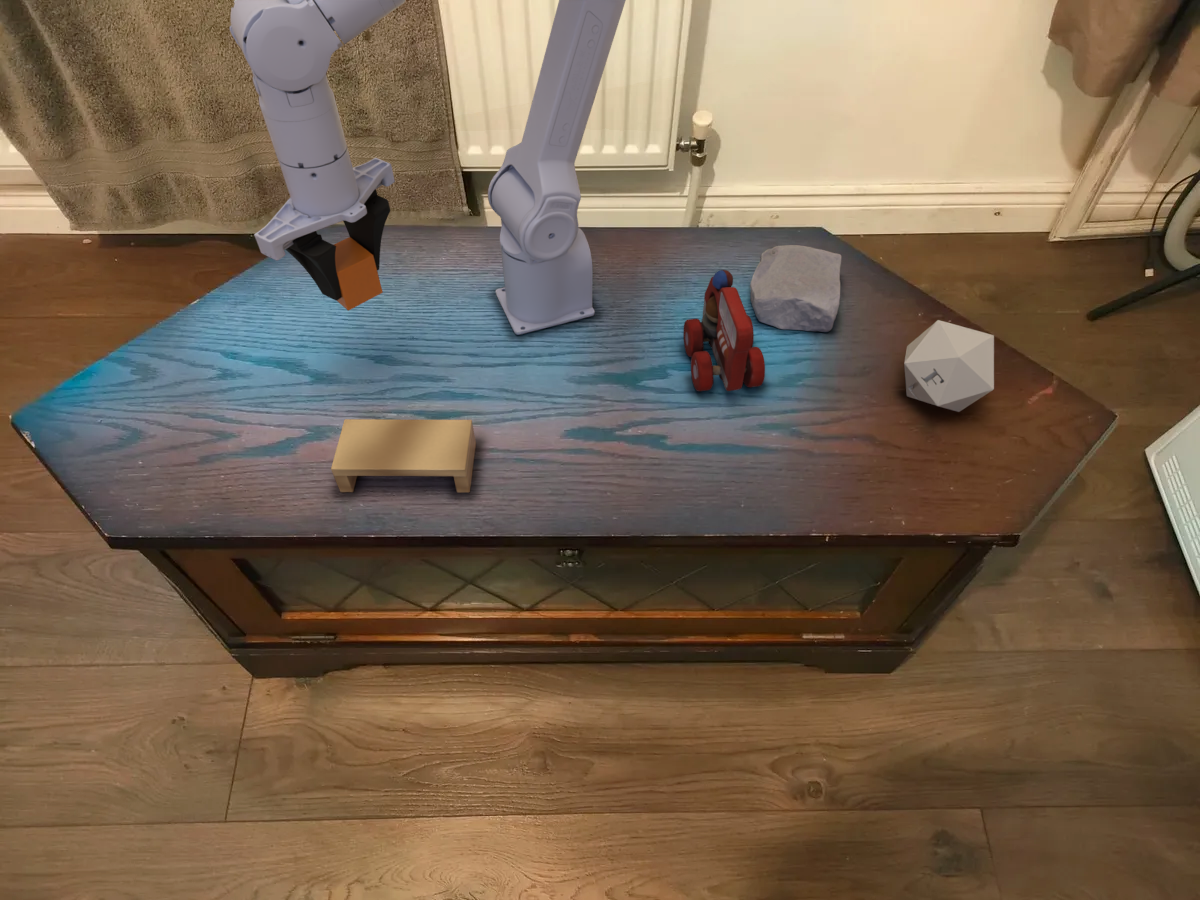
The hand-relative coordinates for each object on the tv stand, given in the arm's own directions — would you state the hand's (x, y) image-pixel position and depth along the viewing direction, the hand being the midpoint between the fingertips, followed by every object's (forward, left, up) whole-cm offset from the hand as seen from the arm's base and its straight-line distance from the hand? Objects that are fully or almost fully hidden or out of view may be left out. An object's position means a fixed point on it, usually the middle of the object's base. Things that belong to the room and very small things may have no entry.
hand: (350, 281), depth 75 cm
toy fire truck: (-34, +14, -11) cm, 39 cm away
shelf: (0, +16, -10) cm, 19 cm away
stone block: (-47, +7, -11) cm, 49 cm away
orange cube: (0, 0, -1) cm, 1 cm away
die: (-53, +26, -11) cm, 60 cm away
